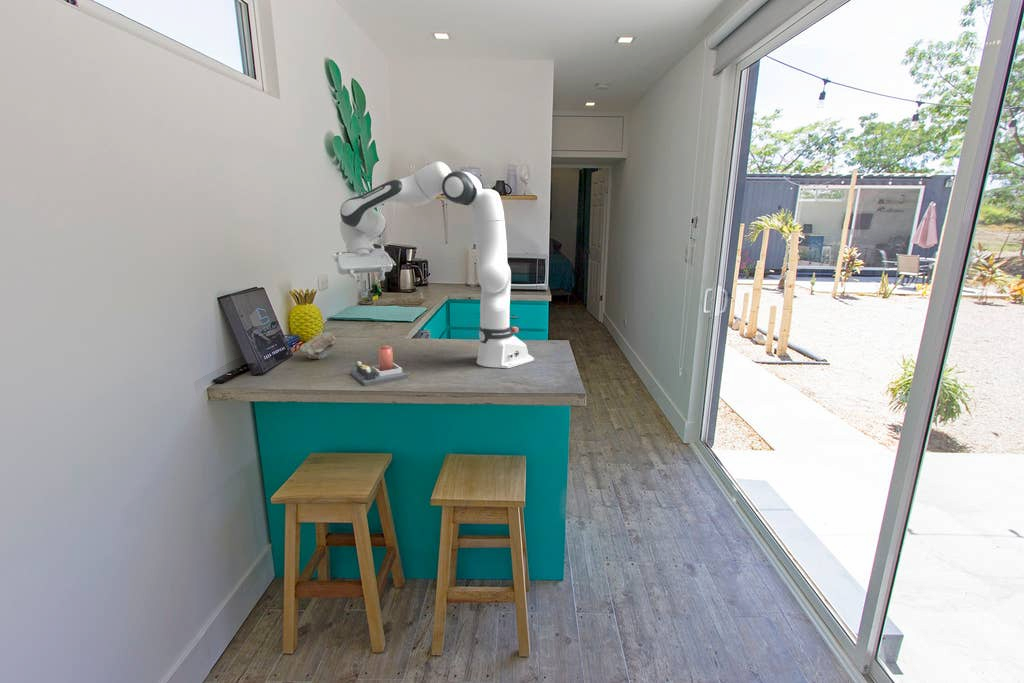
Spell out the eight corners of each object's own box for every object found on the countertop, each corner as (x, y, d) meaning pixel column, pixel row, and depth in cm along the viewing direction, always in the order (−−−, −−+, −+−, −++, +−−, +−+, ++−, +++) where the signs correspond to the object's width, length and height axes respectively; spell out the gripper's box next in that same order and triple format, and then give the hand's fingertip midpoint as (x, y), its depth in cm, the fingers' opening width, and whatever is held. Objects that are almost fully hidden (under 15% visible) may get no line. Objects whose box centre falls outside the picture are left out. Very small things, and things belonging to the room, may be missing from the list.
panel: (391, 367, 187) (390, 354, 186) (407, 377, 175) (406, 365, 174) (350, 374, 179) (349, 361, 177) (364, 385, 167) (363, 372, 165)
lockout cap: (390, 368, 181) (389, 344, 179) (395, 371, 177) (394, 346, 175) (378, 370, 179) (376, 345, 176) (382, 374, 175) (381, 348, 173)
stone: (326, 364, 190) (324, 338, 188) (294, 361, 194) (291, 335, 191) (342, 356, 200) (340, 332, 198) (311, 353, 204) (309, 329, 201)
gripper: (333, 246, 182) (343, 276, 177) (387, 245, 194) (398, 273, 188) (330, 258, 187) (340, 287, 182) (384, 256, 198) (394, 283, 193)
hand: (370, 280), depth 185 cm, fingers open, 8 cm apart
